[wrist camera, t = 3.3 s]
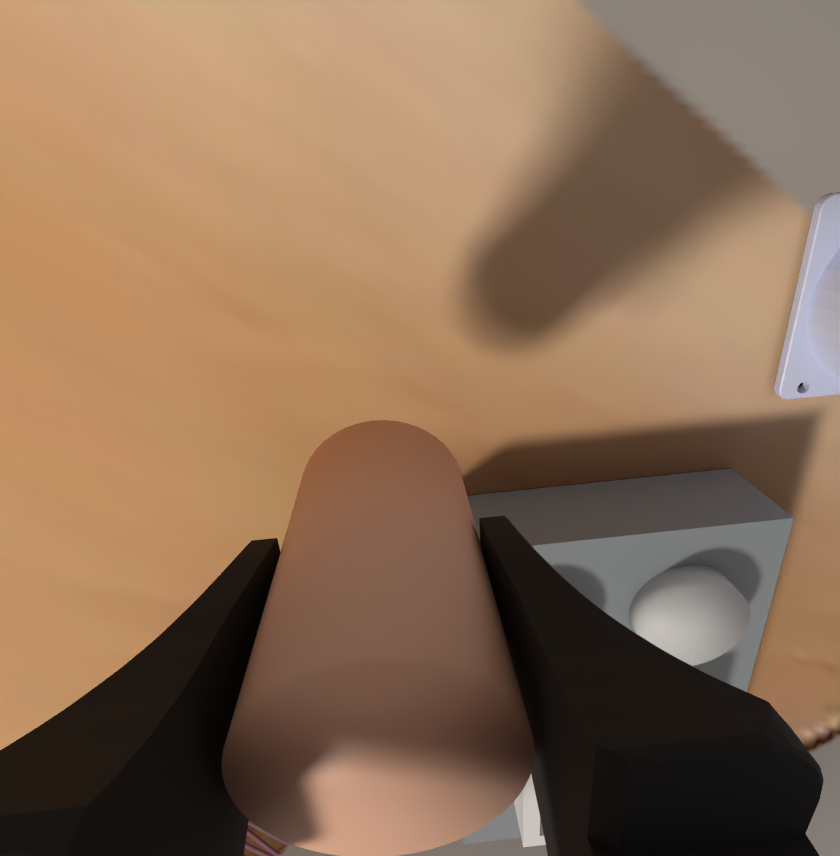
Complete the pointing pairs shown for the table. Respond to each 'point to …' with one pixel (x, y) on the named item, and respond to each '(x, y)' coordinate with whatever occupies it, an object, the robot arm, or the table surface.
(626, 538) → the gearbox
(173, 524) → the table surface
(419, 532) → the peach tapered capsule
